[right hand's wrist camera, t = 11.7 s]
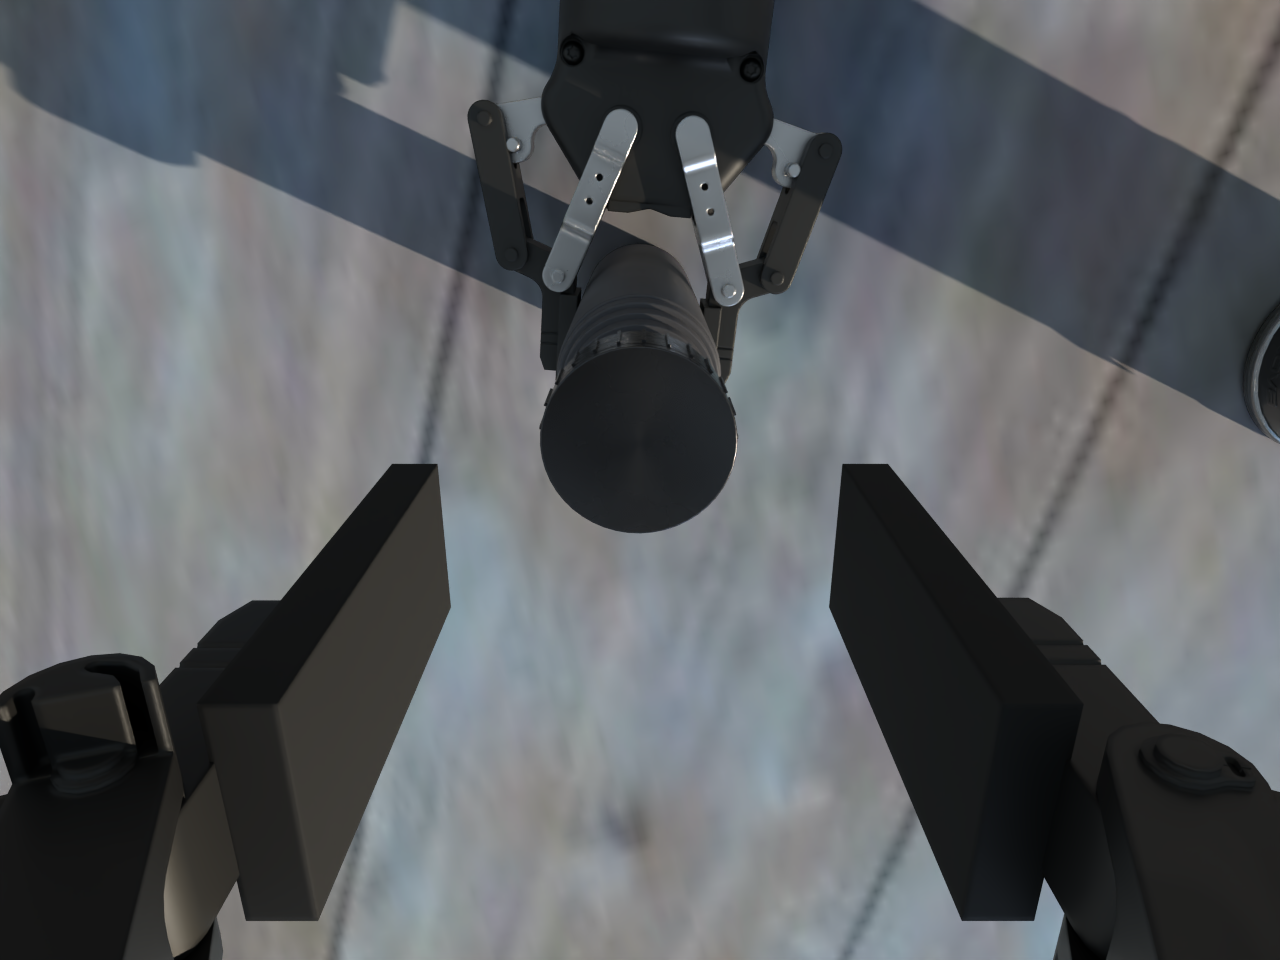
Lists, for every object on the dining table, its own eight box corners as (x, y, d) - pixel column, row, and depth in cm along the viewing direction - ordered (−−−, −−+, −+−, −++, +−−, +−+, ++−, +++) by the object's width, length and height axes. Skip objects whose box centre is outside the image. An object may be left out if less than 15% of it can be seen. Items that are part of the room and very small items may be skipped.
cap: (539, 496, 21) (530, 525, 20) (552, 317, 20) (544, 332, 18) (716, 515, 22) (723, 545, 20) (744, 339, 20) (754, 356, 18)
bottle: (582, 342, 40) (526, 523, 20) (592, 237, 39) (540, 321, 18) (683, 354, 41) (727, 544, 20) (697, 250, 39) (760, 346, 19)
